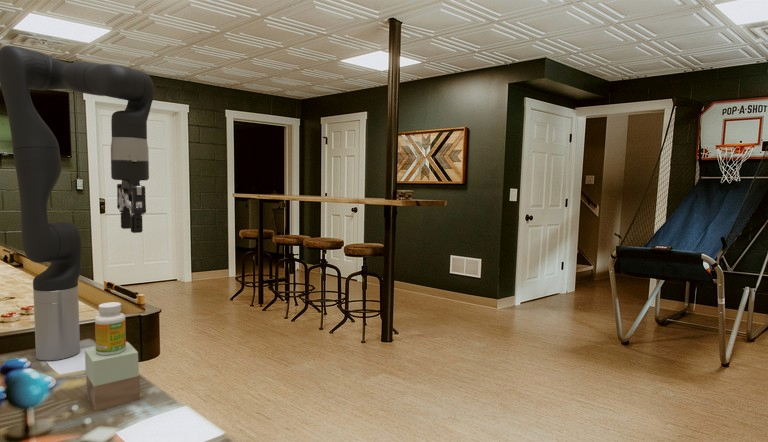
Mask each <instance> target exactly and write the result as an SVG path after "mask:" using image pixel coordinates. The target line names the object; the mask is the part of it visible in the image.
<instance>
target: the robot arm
mask: <svg viewBox="0 0 768 442" xmlns="http://www.w3.org/2000/svg"><path fill="white" fill-rule="evenodd" d="M154 85H155V84H154V82H153V80H152V78H151V76H150V75H149V74H148V73H146V72H144V71H142V70H138V69H135V68H131V67H127V66H124V65H123V66H122V65H117V64H112V63H111V64H110V63H105V64H104V63H103V64H101V63H94V62H88V61H87V62H86V61H74V62H67V61H63V60H61V59H59V58H58V59H57V58H55V57H52V56H51V55H48V54H46V53H43V52H40V51H37V50H32V49H27V48H24V47H21V46H20V47H19V46H17V45H16V46H15V45H5V46H3V47H1V48H0V89H1V92H2V96H3V99H4V104H5V107H6V112H7V117H8V123H9V124H8V125H9V129H10V136H11V145H12V154H13V161H14V166H15V167H14V168H15V173H16V177H17V186H18V193H19V201H20V203H19V204H20V234H21V242H22V249H23V251H24V254H25V256H26V257H27V259H28V260H29V261H31V262H33V263H36V264H38V263H40V264H42V263H47V262H50V264H49V266H48V267H47V268H46V269H45V270H44V271H42V272H40V273H38V275H36V276H34V278H33V280H32V289H33V290H32V291H33V313H34V318H33V319H34V337H35V341H34V342H35V358H36V359H37V360H39V361H46V362H47V361H58V360H64V359H66V358H67V359H68V358H70V357H73V356H75V355H77V354H79V353H80V352H81V345H80V344H81V340H80V338H81V337H80V310H79V309H80V307H79V306H80V305H79V304H80V303H79V302H80V301H79V278H80V275H81V270H82V238H81V233H80V231H79V229H78V227H77V226H76V225H75V224H74V223H71V222H68V221H65V222H64V221H60V222H50V223H49V219H48V203H49V199H50V196H51V194H52V193H53V190H54V188H55V186H56V184H57V183H58V180H59V179H60V176H61V173H62V170H63V169H62V168H63V167H62V159H61V151H60V145H59V142H58V140H57V139H58V138H56V136H55V134H54V133H53V131H52V130H51V128H50V126H48V124H47V123H46V122H45V121H44V120H43V119H42V117H41V115H40V114H39V113H38V111H37V110H36V108H35V106H34V103H33V100H32V97H31V92H30V90H33V91H50V90H51V91H53V90H71V91H74V92H77V93H82V94H87V95H92V96H100V97H108V98H113V99H118V100H123V101H127V105H126V107H125V109H124V110H117V111H114V112H113V113H112V114H111V120H110V123H111V143H110V172H111V173H110V175H111V179H112V180H114V181H121V183H117V185H116V188H117V189H116V193H117V195H116V196H117V198H116V199H117V200H116V201H117V204H116V208H117V210H118V211H119V213H120V228H121V229H123V230H128V229H130V232H131V233H133V234H136V233H137V234H140V233H142V232H143V216H144V214H146V212H147V205H146V201H147V200H146V186H145V185H141V183H140V182H141V181H148V180H149V179H150V166H149V165H150V162H149V159H150V158H149V154H150V153H149V145H148V128H147V127H148V125H147V122H148V118H149V115H150V111H151V108H152V103H153V100H154V95H155V86H154Z"/></svg>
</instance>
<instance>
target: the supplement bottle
mask: <svg viewBox="0 0 768 442" xmlns="http://www.w3.org/2000/svg"><path fill="white" fill-rule="evenodd" d="M121 311H122V303H121V302H118V301H116V302H115V301H112V302H111V301H110V302H104V303H100V304H99V305H98V313H99V314H98V315H97V316H96V317H95V318H94V334H95V335H94V336H95V348H96V353H97V354H99V355H113V354H118V353H120V352H122V351H124V350H125V349H126V342H127V337H126V336H127V335H126V334H127V333H126V331H127V330H126V329H127V328H126V315H125V314H124V313H123V312H121Z"/></svg>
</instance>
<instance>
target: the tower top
mask: <svg viewBox="0 0 768 442" xmlns="http://www.w3.org/2000/svg"><path fill="white" fill-rule="evenodd" d="M84 363H85V364H84V366H85V367H84V369H85V375H87V376H88V378H89V380H90V381H91V383H92V384H93V386H98V385H103V384H107V383H111V382H115V381H120V380H124V379H128V378H132V377H137V376H139V377H140V374H139V372H140V371H139V352H138V351H137V349H136V348H134V346H133V345H132V344H131V343H129V341H126V349H125V350H124V351H122V352H120V353H118V354H113V355H99V354H97V353H96V347H93V348H86V349H84Z"/></svg>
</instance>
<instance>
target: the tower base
mask: <svg viewBox="0 0 768 442" xmlns="http://www.w3.org/2000/svg"><path fill="white" fill-rule="evenodd" d="M85 375H86V374H85ZM85 378H86V379H85V380H86V397H87V398H88V400H89V402H90V404H91V405H92V408H93V410H94V411H95V412H96V411H100V410H103V409H107V408H111V407H115V406H118V405H121V404H122V405H123V404H126V403H131V402H133V401H139V400H140V399H141V392H140V391H141V389H140V375H139V376H137V377H132V378H128V379H124V380H120V381H115V382H111V383H107V384H103V385H98V386H93V384H92V383H91V381H90V380H89V378H88V376H87V375H86V377H85Z"/></svg>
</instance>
